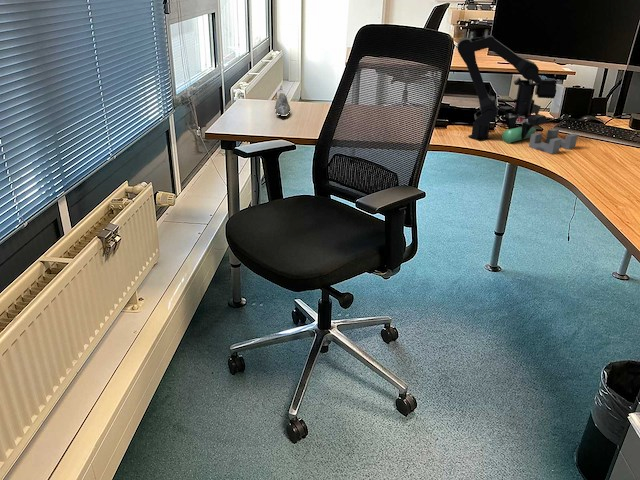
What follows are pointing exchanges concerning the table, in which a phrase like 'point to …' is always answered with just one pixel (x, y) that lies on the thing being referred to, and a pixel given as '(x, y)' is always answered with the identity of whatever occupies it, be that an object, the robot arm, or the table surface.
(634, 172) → the table surface
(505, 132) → the bottle
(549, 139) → the u rest
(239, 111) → the table surface
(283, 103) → the mineral rock
